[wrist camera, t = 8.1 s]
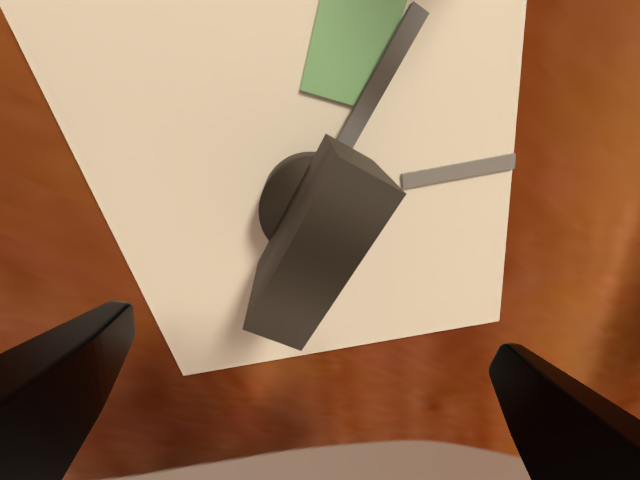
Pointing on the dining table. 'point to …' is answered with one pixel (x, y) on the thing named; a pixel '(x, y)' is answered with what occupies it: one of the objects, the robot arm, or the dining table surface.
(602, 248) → the dining table surface
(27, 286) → the dining table surface
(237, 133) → the dial plate
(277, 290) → the dark grey angled piece
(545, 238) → the dining table surface
